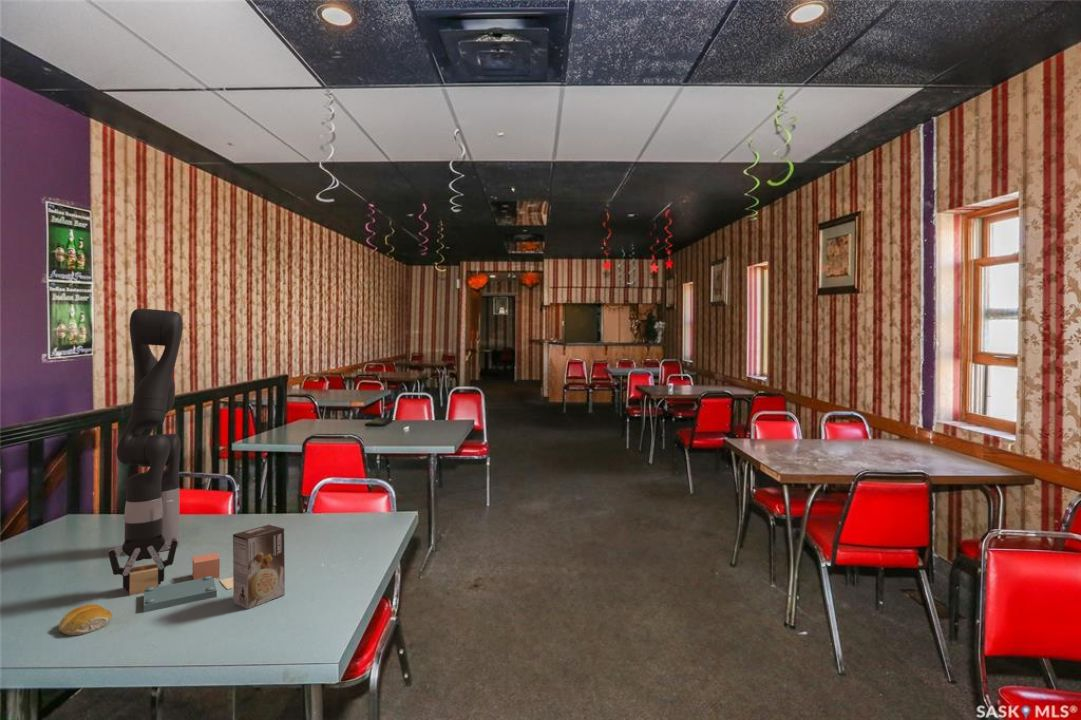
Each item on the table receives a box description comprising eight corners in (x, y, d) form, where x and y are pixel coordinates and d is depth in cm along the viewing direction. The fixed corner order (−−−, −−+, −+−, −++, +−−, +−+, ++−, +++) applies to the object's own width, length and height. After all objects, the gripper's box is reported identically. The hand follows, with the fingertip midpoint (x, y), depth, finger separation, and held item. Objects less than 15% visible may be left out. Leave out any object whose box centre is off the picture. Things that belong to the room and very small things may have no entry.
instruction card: (219, 581, 140) (219, 579, 140) (262, 570, 147) (262, 569, 147) (227, 589, 135) (227, 588, 135) (271, 578, 141) (271, 577, 141)
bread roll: (99, 613, 122) (99, 595, 122) (117, 624, 118) (117, 606, 117) (51, 628, 115) (51, 609, 115) (68, 641, 111) (68, 621, 111)
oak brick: (130, 587, 135) (130, 567, 135) (157, 582, 139) (157, 562, 139) (129, 595, 131) (129, 574, 131) (157, 590, 134) (157, 569, 134)
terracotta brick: (192, 575, 143) (192, 556, 143) (217, 571, 146) (217, 552, 146) (194, 583, 139) (194, 563, 139) (219, 578, 142) (219, 558, 142)
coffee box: (269, 589, 135) (270, 523, 135) (285, 595, 132) (285, 528, 132) (232, 603, 128) (232, 533, 127) (247, 610, 124) (248, 538, 124)
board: (143, 595, 131) (143, 587, 131) (212, 582, 139) (212, 574, 139) (143, 612, 123) (143, 603, 123) (216, 596, 131) (216, 588, 131)
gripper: (178, 509, 142) (178, 575, 142) (107, 518, 134) (107, 588, 134) (180, 516, 136) (179, 585, 136) (105, 526, 127) (105, 599, 128)
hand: (143, 586), depth 135 cm, fingers closed on oak brick, 5 cm apart
